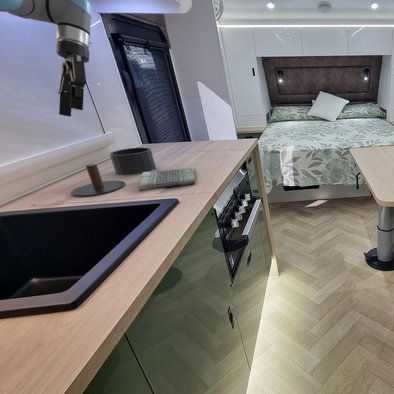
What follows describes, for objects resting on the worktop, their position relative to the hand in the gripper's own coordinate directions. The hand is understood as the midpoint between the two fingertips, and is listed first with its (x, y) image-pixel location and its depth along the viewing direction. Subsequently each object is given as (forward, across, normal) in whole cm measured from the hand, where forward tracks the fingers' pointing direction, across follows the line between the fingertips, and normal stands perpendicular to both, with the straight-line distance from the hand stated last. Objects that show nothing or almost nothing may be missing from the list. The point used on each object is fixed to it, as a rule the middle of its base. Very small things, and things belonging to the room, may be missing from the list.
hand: (70, 112), depth 91 cm
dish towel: (+20, -7, -27) cm, 34 cm away
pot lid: (+24, +3, -9) cm, 26 cm away
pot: (+15, +18, -24) cm, 34 cm away
